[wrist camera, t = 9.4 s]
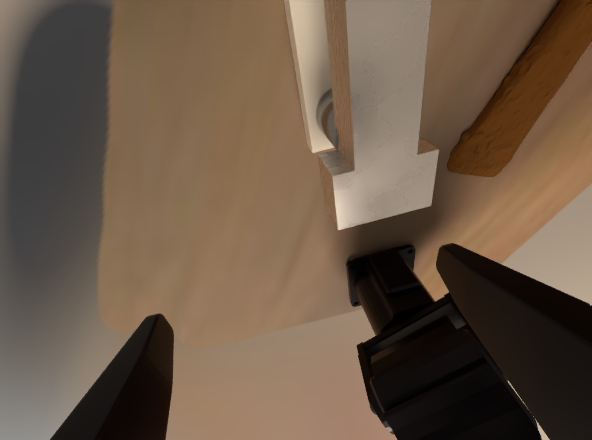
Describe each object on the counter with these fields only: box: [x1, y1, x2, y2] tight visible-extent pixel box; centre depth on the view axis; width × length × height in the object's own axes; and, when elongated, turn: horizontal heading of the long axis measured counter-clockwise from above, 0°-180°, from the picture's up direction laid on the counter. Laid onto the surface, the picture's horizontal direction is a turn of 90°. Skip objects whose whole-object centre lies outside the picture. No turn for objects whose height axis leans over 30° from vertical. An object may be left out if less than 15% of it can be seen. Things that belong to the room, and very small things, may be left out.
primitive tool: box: [447, 0, 592, 177], centre depth 17 cm, size 19×6×4 cm, turn 169°
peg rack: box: [284, 0, 338, 153], centre depth 13 cm, size 12×4×5 cm, turn 10°
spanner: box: [318, 0, 439, 230], centre depth 10 cm, size 5×15×2 cm, turn 10°
